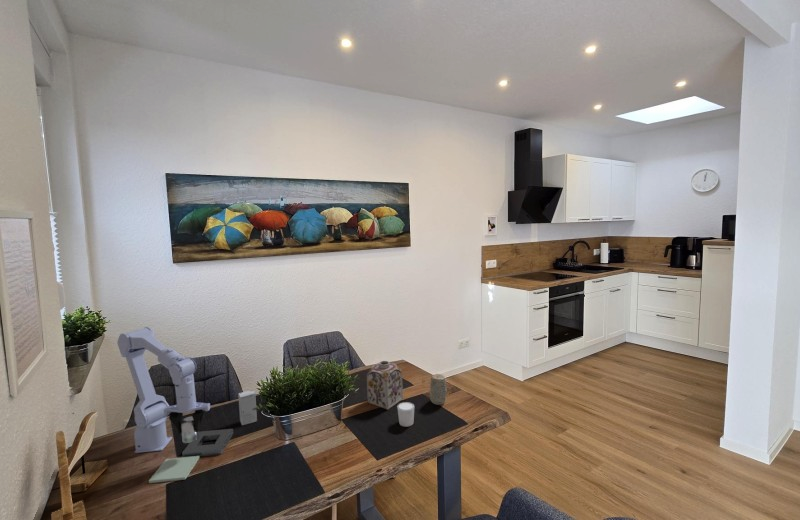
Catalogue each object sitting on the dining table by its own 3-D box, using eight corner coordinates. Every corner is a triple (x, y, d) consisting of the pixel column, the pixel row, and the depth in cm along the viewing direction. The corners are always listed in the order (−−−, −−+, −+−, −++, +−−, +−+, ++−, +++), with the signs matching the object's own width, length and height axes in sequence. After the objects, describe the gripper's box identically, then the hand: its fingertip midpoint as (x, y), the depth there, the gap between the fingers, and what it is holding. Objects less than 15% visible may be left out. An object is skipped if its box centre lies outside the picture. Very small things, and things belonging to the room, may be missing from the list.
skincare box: (242, 426, 152) (239, 397, 151) (239, 421, 156) (237, 393, 154) (257, 421, 155) (255, 393, 154) (255, 416, 159) (253, 389, 158)
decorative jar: (383, 392, 177) (382, 355, 175) (403, 399, 170) (402, 360, 168) (366, 403, 167) (365, 364, 165) (387, 410, 160) (386, 370, 158)
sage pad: (149, 483, 120) (148, 480, 120) (166, 461, 131) (166, 459, 131) (185, 479, 121) (185, 477, 121) (199, 457, 132) (199, 455, 132)
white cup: (395, 425, 149) (394, 408, 148) (401, 416, 155) (401, 400, 154) (411, 428, 146) (410, 411, 145) (417, 419, 152) (416, 403, 152)
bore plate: (182, 457, 133) (182, 452, 132) (198, 436, 145) (197, 431, 145) (221, 454, 134) (220, 448, 134) (233, 433, 147) (232, 428, 147)
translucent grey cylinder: (179, 443, 129) (177, 424, 129) (187, 435, 134) (185, 416, 134) (194, 442, 130) (192, 423, 129) (201, 434, 135) (199, 415, 134)
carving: (443, 407, 161) (442, 380, 160) (427, 403, 165) (426, 377, 164) (449, 401, 167) (448, 375, 166) (433, 397, 171) (433, 372, 169)
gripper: (212, 387, 135) (215, 423, 136) (169, 390, 133) (173, 426, 135) (204, 396, 128) (207, 434, 129) (158, 399, 126) (163, 438, 128)
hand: (189, 431), depth 131 cm, fingers closed on translucent grey cylinder, 5 cm apart
